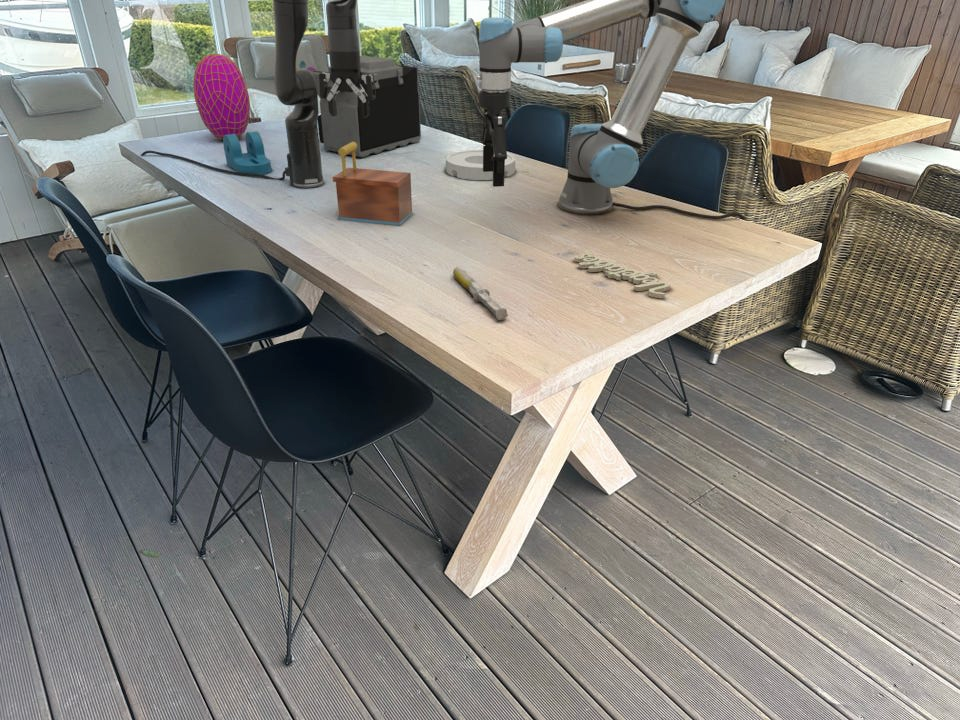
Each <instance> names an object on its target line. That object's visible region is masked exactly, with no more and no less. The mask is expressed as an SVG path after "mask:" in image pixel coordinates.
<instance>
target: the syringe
mask: <svg viewBox="0 0 960 720" xmlns="http://www.w3.org/2000/svg"><path fill="white" fill-rule="evenodd" d="M452 274H453V277H454V279H455V280H457V281H458V282H459V283H460V285H462V287H464V289H466V290H467V291H468V293H470V295H471V296H472V298H473V300H474V302H477V303H478V302H480V303H482V304H483V305H484V306H485V307H486V308H487V309H488V310H489V311H490V312H491V313H492V314H493V315H494V316H495V317H496V320H497V321H503V320H504V319H506V318H507V317H509V314H508V310H507V308H506V307H502V306H501V305H500V303H498V302H497V301H496V300H494V299H493V298H492V297H491V296H490V295H491V293H490V290H488V289H486V288H483V287H482V286H481V285H480V284H479V283H478V282H477V281H476V280H474V278H473V277H471V275H469V274H468V273H467V272H466V270H465V269H464V268H463V267H462V266H456V267H454V268H453V271H452Z"/></svg>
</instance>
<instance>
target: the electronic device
mask: <svg viewBox="0 0 960 720" xmlns="http://www.w3.org/2000/svg"><path fill="white" fill-rule="evenodd" d="M360 64H361V73H362V75H369V74H373V76H374V84H375V93H376V98H375V99H373V100H371V101H369V109H370V113H369V115H368V117H367V118H363V117H362V105H361V103H363V102H362V101H361V99H360V98H359V97H358V96H357V95H356V94H355V93H354V92H352V93H350V92H340V91H339V93H338V94H337V95H336V97H335V99H334V100H336V107H337V115H336V116H331V114H330V113H329V106H328V100H327V99H325V98H321V97H320V86H319V74H320V73H322V72H323V71H320V70H316V71H313V72H311V73H312V75H313V77H314V79H315V81H316V85H317V93H318V99H319V110H320V111H319V112H320V114H319V115H318V120H317V127H318V137H319V144H323V146H324V149H325V150H327V151H330V152H335V153H338V150H339V149H340V148H342V147H344V146H345V145H347V144H349V143H351V142H355V143H356V144H357V149H356V150H355V156H356V158H362V159H363V158H366V157H367V158H368V157H369V155H371V154H375V155H377V154H381V153H382V152H383V151H391V150H395V149H396V148H397V147H405V146H407V145H408V144H416V143H418V142H419V141H421V137H422V128H421V97H420V92H419V91H420V89H419V68H418V67H417V66H408V65H400V64H396V62H395V60H394V59H393V58H385V57H377V56H367V55H360ZM325 72H326V73H329V74H330V73H331V68H330V66H329V67H328V72H327V71H325ZM333 85H334V83H333V82H332V81H331V79H329V81H328V93H330V90H331V89H332V87H333ZM361 86H362V87H363V89H364V90H365V93H366V94H367V95H368V92H367V84H365V83H364V80H362V82H361ZM347 155H348V156H352V152H351V153H349V154H347Z"/></svg>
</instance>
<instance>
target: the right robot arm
mask: <svg viewBox="0 0 960 720" xmlns="http://www.w3.org/2000/svg"><path fill="white" fill-rule="evenodd" d="M725 2H726V0H584V1H583V0H582V1H580V2H577V3H574V4H571V5H569V6H566V7H563V8H560V9H556V10H554V11H550V12H548V13H545V14H543V15H540V16H536V17H534V18H531V19H528V20H525V21H524V20H518V21H515V22H513V21H512V19H511V18H509V17H484V18H483V19H482V20H481V21H480V23H479V34H478V35H479V38H478V51H479V52H478V53H479V54H478V55H479V57H478V58H479V59H478V60H479V61H478V63H479V64H478V66H479V67H478V70H479V75H476V79H477V80H478V87H479V89H481V90H479V92H478V107H479V108H481V109H483V122H482V130H481V138H480V139H481V142H482V145H483V146H482V150H483V172H492V171H493V180H492V187H493V188H495V187H496V188H497V187H498V188H499V187H505V177H504V171H505V159H507V154H508V152H507V135H506V116H505V115H502V110H505V109H509V108H510V106H511V92H510V89H511V87H512V84H511V83H512V64H518V63H544V64H547V63H556V62H558V61H559V60H560V59H561V57H562V55H563V50H564V43H565V42H568V41H571V40H575V39H578V38H580V37H583V36H587V35H589V34H592V33H595V32H598V31H601V30H604V29H607V28H610V27H613V26H616V25H618V24H622V23H624V22H628V21H630V20H634V19H636V18H639V19H640V20H642V21H643V20H647V19H650V18H653V17H655V20H656V23H657V24H656V26H655V28H654V31H653V33H652V34H651V36H650V38H649V41H648V43H647V45H646V47H645V49H644V51H643V53H642V55H641V57H640V59H639V61H638V63H637V65H636V68H635V70H634V71H633V74H632V75H631V78H630V80H629V82H628V84H627V86H626V88H625V90H624V92H623V94H622V96H621V98H620V100H619V102H618V104H617V106H616V108H615V110H614V112H613V114H612V117H611V119H609V120H607V121H606V122H603V123H579V124H575V125H573V126H572V127H571V130H570V136H569V147H568V149H569V150H568V164H567V177H566V181H565V184H564V186H563V189H562V191H561V194H560V196H559V200H558V206H559V207H558V208H560V209H561V210H563V211H565V212H568V213H571V214H576V215H577V214H578V215H585V216H586V215H587V216H590V215H593V216H595V215H602V214H606V213H609V212H610V211H611V210H612V209H613V207H616V208H617V207H618V208H621V209H622V208H623V209H628V210H632V211H646V210H652V209H653V210H655V209H657V210H658V209H660V210H667V211H672V212H675V213H678V214H681V215H687V216H690V217H696V218H700V219H708V220H709V219H710V220H723V219H727V218H731V217H738V218H739V219H741V220H746V217H745V216H744V214H742V213H740V212H735V211H734V212H733V211H732V212H729V213H725V214H722V215H710V214H704V213H699V212H698V213H697V212H692V211H689V210H688V211H687V210H683V209H680V208H676V207H672V206H668V205H663V204H662V205H661V204H653V205H643V206H633V205H628V204H624V203H618V202H614V201H613V196H612V191H611V189H619V188H621V187H623V186H625V185H627V184H628V183H630V182H631V181H632V180H633V179H634V178H635V176H636V175H637V173H638V170H639V166H640V160H639V152H640V151H641V149H642V146H643V145H644V141H643V137H642V133H643V131H644V129H645V128H646V126H647V123H648V122H649V120H650V118H651V116H652V114H653V112H654V110H655V108H656V107H657V104H658V103H659V100H660V99H661V96H662V94H663V93H664V90H665V89H666V86H667V85H668V82H669V81H670V79H671V77H672V74H673V73H674V71H675V70H676V68H677V65H678V63H679V61H680V59H681V58H682V56H683V53H684V51H685V49H686V47H687V45H688V43H690V41H691V39H694V38H697V37H698V36H700V34H701V32H702V30H703V28H704V27H705V25H706V23H707V22H708V21H711V20H712V19H714V18H716V17H717V16H718V14H719V13H720V12H721V11H722V9H723V8H724V6H725Z"/></svg>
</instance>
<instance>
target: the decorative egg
mask: <svg viewBox="0 0 960 720" xmlns="http://www.w3.org/2000/svg"><path fill="white" fill-rule="evenodd" d="M193 96H194V101H195V105H196V107H197V111H198V113H199V116H200V118H201V119H200V120H201V121H202V122H203V124H204V126H205V127H206V128H207V130H208V131H209V132H210V133H211V135H212V136H214V137H215V138H217V139H219V140H223V137H224V135H230V134H235V135H236V136H237V138H238V139H239V138H241V137H242V136H243V135H244V133H245V132H246V130H247V128H248V125H249V121H250V115H251V101H250V94H249V90H248V86H247V83H246V80H245V78H244V75H243V73H242V72H241V70H240V68H239V67H238V66H237V64H236V63H235V62H234V60H233V59H231V58H229V57H228V56H227V55H224V54H221V53H211V54H207V55H205V56H203V57H202V58H201V59H200V60H199V61H198V62H197V65H196V67H195V69H194V73H193Z"/></svg>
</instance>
